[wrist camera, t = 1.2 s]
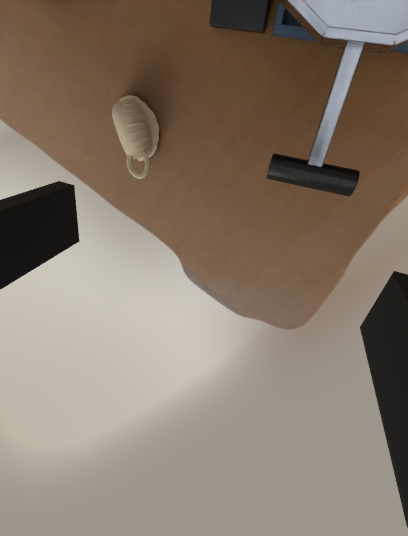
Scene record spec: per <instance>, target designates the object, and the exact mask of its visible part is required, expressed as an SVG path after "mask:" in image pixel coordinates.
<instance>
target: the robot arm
mask: <svg viewBox="0 0 408 536" xmlns="http://www.w3.org/2000/svg"><path fill="white" fill-rule="evenodd" d="M77 242H79V233H78V223H77V212H76V200H75V190H74V185H71V184H67V183H64V182H60V181H58V182H55V183H52V184H49V185H46V186H43V187H39V188H36V189H33V190H30V191H27V192H24V193H21V194H18V195H15V196H11V197H8V198H5V199H2V200H0V289H2V288H4V287H5V286H7V285H9V284H10V283H12V282H13V281H15V280H17V279H18V278H20V277H22V276H23V275H25V274H27V273H28V272H30V271H31V270H33V269H35V268H36V267H38V266H40V265H41V264H43V263H45V262H46V261H48V260H49V259H51V258H53V257H54V256H56V255H58V254H59V253H61V252H62V251H64V250H66V249H67V248H69V247H71V246H72V245H74V244H76V243H77ZM360 329H361V334H362V338H363V342H364V346H365V351H366V355H367V359H368V363H369V367H370V372H371V376H372V380H373V385H374V389H375V393H376V397H377V401H378V406H379V410H380V414H381V418H382V423H383V427H384V431H385V435H386V439H387V444H388V448H389V452H390V456H391V461H392V465H393V469H394V473H395V477H396V482H397V486H398V490H399V494H400V499H401V503H402V507H403V512H404V516H405V520H406V524H407V527H408V275H406V274H403V273H399V272H396V271H394V272H393V274H392V275H391V277H390V279H389V280H388V282H387V284H386V285H385V287H384V289H383V290H382V292H381V294H380V295H379V297H378V299H377V300H376V302H375V304H374V305H373V307H372V308H371V310H370V312H369V313H368V315H367V317H366V318H365V320H364V322H363V323H362V325H361V326H360Z"/></svg>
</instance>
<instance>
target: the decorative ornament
mask: <svg viewBox="0 0 408 536" xmlns="http://www.w3.org/2000/svg"><path fill="white" fill-rule="evenodd" d="M112 115H113V120H114V124H115V127H116V131H117V134H118V137H119V139H120V142H121V145H122V147H123V149H124V151H125V153H126V154H127V167H128V169H129V171H130V173H131V174H132V175H133V176H134V177H135V178H138V179H142V178H144V177H146V176H147V174H148V172H149V169H150V163H149V159H148V158H149V157H151V156H153V155H154V153H155V151H156V149H157V143H158V141H159V125H158V123H157V120H156V116H155V114H154V112H153V111H152V110H151V109H149V108H148V107H147V105H146V103H145V102H143V101H141V100H140V99H139V98H138V97H137V96H131V95H127V96H125V97H123V98H121V99H120V100H119V102H117V103H116V104H114V106H113V109H112ZM132 159H138V161H142V160H144V162H145V169H144V172H143V173H142V174H137V173H136V172H135V171H134V169H133V167H132Z"/></svg>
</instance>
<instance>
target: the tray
mask: <svg viewBox="0 0 408 536" xmlns="http://www.w3.org/2000/svg"><path fill="white" fill-rule="evenodd" d="M273 34H274V36H276V37H284V38H292V39H300V40H308V41H316V40H315V39H314V38H313V37H312V35H311V34H310V33H309V32H308V31H307V30H306V29H305V28H304V27H303V26H302V25H301V24H300V23H299V22H298V21H297V20H296V19H295V18H294V17H293V16H292V15H291V14H290V12H289V11H288V10H287V9H286V8H285V7H284V6H283V5H282V4H281V3H280V2H279V4H278V9H277V14H276V19H275V24H274V28H273ZM316 42H317V41H316ZM389 51H395V52H403V53H408V42H407V43H405V44H403V45H400V46H398V47H396V48H393V49H391V50H389Z"/></svg>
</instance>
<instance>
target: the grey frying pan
mask: <svg viewBox="0 0 408 536" xmlns="http://www.w3.org/2000/svg"><path fill="white" fill-rule="evenodd" d="M279 2H280V3H281V4H282V5H283V6H284V7H285V8H286V9H287V10H288V11H289V12H290V14H291V15H292V16H293V17H294V18H295V19H296V20H297V21H298V22H299V23H300V24H301V25H302V26H303V27H304V28H305V29H306V30H307V31H308V32H309V33H310V34H311V35H312V37H313V38H314V39H315V40H316V41H317V42H318V43H319V44H321V45H325V46H333V47H341V48H344V49H343V52H342V55H341V58H340V61H339V64H338V68H337V71H336V74H335V77H334V80H333V83H332V86H331V90H330V93H329V96H328V99H327V102H326V105H325V108H324V112H323V115H322V118H321V121H320V124H319V127H318V130H317V133H316V137H315V140H314V143H313V146H312V149H311V152H310V155H309V159H308V160H304V159H299V158H294V157H289V156H284V155H279V154H273V156H272V159H271V163H270V166H269V170H268V175H267V179H271V180H276V181H280V182H285V183H289V184H294V185H299V186H303V187H308V188H312V189H317V190H321V191H326V192H331V193H335V194H340V195H344V196H351V195H352V193H353V192H354V190H355V188H356V185H357V182H358V179H359V174H360V172H359V171H358V170H354V169H349V168H344V167H339V166H334V165H329V164H324V160H325V157H326V154H327V151H328V148H329V145H330V143H331V140H332V137H333V134H334V131H335V128H336V125H337V122H338V120H339V117H340V114H341V111H342V108H343V105H344V102H345V99H346V97H347V94H348V91H349V88H350V85H351V82H352V79H353V77H354V74H355V71H356V68H357V65H358V62H359V59H360V56H361V54H362V51H363V50H364V51H372V52H380V53H382V52H386V51H389V50H391V49H393V48H396V47H398V46H400V45H403V44H405V43H407V42H408V0H279Z"/></svg>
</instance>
